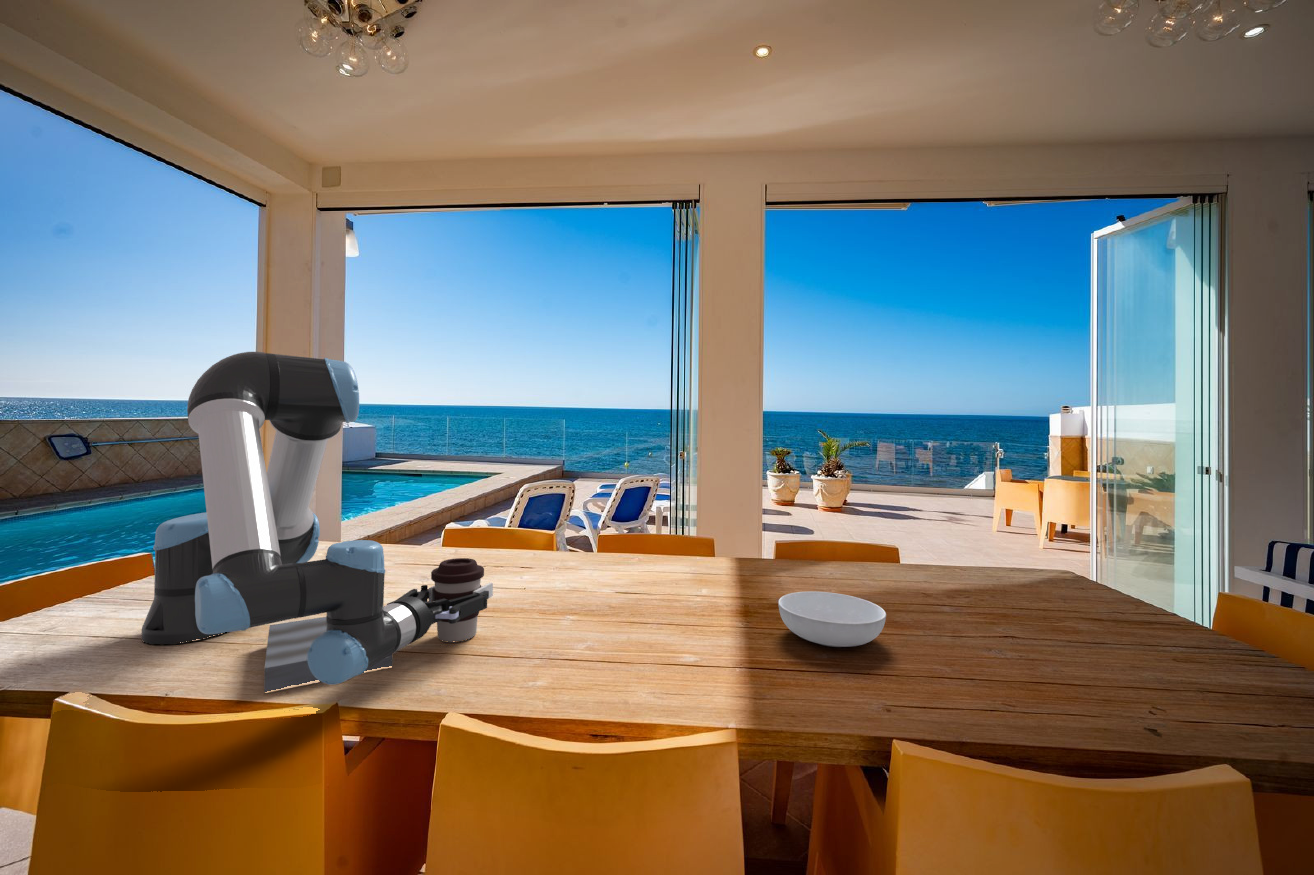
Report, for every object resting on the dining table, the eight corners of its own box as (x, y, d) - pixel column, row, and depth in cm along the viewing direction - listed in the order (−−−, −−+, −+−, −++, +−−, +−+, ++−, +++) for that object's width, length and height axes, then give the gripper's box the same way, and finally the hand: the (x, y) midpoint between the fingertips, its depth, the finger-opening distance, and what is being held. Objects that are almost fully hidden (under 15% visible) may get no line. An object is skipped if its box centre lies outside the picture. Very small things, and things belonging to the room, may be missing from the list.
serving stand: (269, 646, 102) (269, 625, 102) (376, 628, 112) (376, 609, 112) (264, 694, 84) (264, 668, 84) (392, 667, 94) (392, 644, 94)
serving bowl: (896, 665, 99) (897, 627, 99) (778, 654, 103) (779, 617, 103) (874, 625, 119) (875, 594, 119) (776, 617, 123) (777, 587, 123)
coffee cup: (472, 646, 104) (473, 568, 104) (421, 645, 104) (422, 567, 104) (489, 628, 114) (490, 556, 113) (442, 627, 114) (443, 555, 114)
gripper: (342, 641, 93) (423, 601, 115) (456, 653, 89) (517, 609, 111) (342, 597, 93) (423, 566, 115) (457, 607, 89) (518, 573, 111)
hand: (469, 587), depth 113 cm, fingers closed on coffee cup, 9 cm apart
